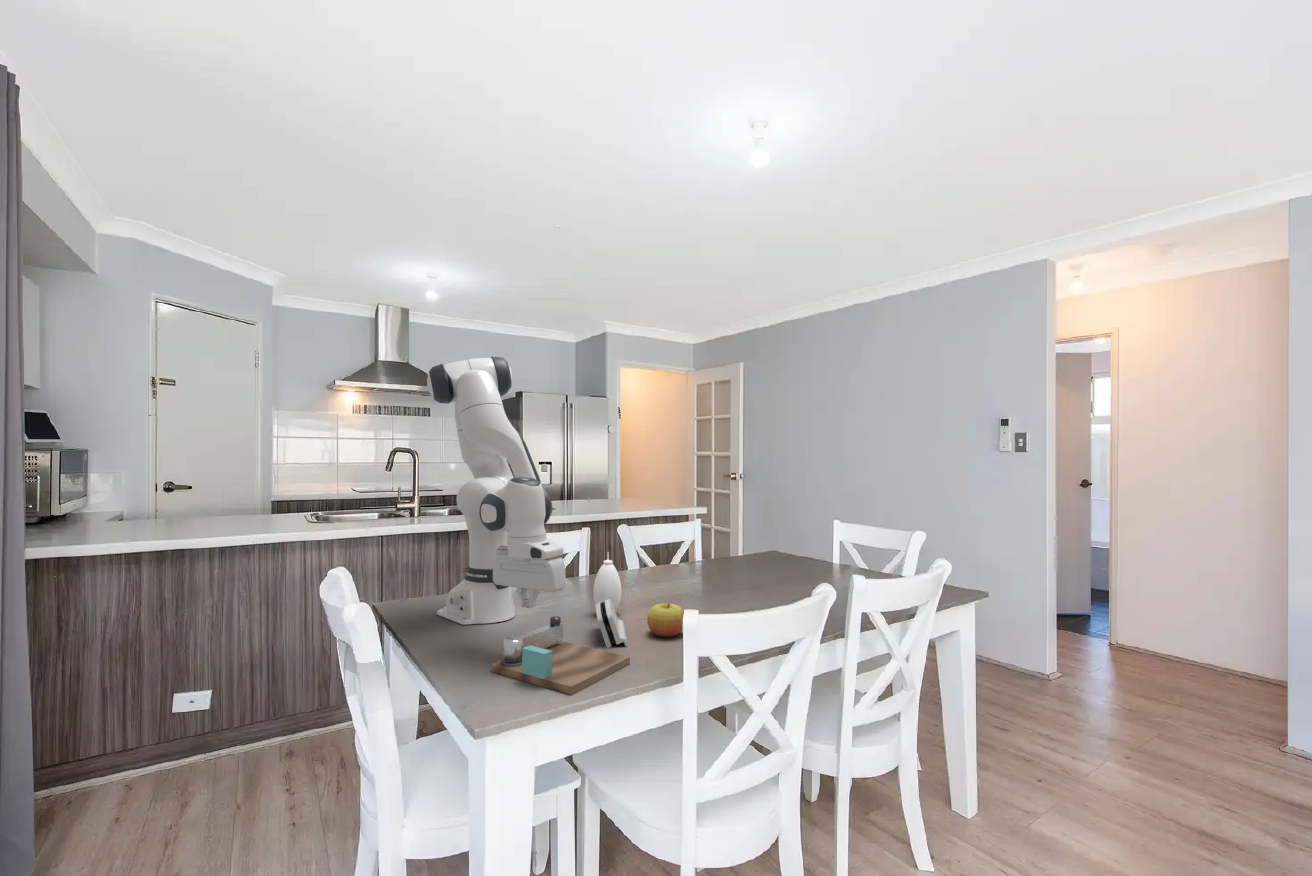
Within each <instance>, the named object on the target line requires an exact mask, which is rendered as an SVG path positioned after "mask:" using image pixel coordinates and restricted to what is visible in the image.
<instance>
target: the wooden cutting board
mask: <svg viewBox="0 0 1312 876" xmlns="http://www.w3.org/2000/svg"><path fill="white" fill-rule="evenodd" d="M544 649H547V650H551V651H552V676H550V677H548V678H546V679H542V678H538V677H535V676H531V675H527V674H524V673H522V660H520V661H517V662H506V661H504V660H503V658H502V659H500V660H497V661H495V662H492V663H490V672H491V673H496V674H498V673H499V674H498V675H503V676H505V677H507V678H508V677H509V678H512V679H516V680H519V681H523V682H526V683H530V684H533V685H536V686H540V687H543V688H547V689H551V690H553V689H555V690H554V691H557V690H558V692H561V693H565V694H567V695H571V696H572V695H574V694H576V693H578V692H579V691H581V690H583V689H585V688H587V687H589V686H591V685H592V684H594V683H595V684H596V683H597V682H598V681H601V680H602V679H605V677H607V676H609V675H611V674H613V673H615V672H617V671H619V670H621V669H623V668H624V667H626V666H628V665H630V664H631V663H630V662H631V656H628V655H624V654H619V653H615V652H610V651H606V650H602V649H597V648H593V647H589V646H584V645H581V644H576V643H572V642H567V641H561V642H559V643H556V644H554V645H551V646H549V647H546V648H544Z"/></svg>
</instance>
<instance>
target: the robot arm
mask: <svg viewBox="0 0 1312 876" xmlns="http://www.w3.org/2000/svg"><path fill="white" fill-rule="evenodd" d="M513 377H514V375H513V371H512V368H511V366H510V365H509V363H508V361H507V360H506V359H505V358H504V357H500V356H491V357H475V358H473V357H472V358H467V359H464V360H458V361H452V362H449V363H445V364H444V363H440V364H438V365H437V364H436V365H434V366H432V367H431V368H430V369H429V371H428V375H427V379H426V383H427V384H426V385H427V390H428V392H429V394H430V396H431V397H432V398H433V400H434V401H435V402H437V403H439V404H451V403H454V420H455V428H456V433H457V438H458V443H459V448H460V453H461V458H462V460H463V461H464V463H465V464H466V465H467V466H468V468H469V469H470V472H471V474H472V476H473V479H470V480H469V481H468V482H466V483H464V484H463V485H462V486H460V488H459V490H458V491H457V494H456V505H457V507H458V509H459V512H461V514H462V515H463V517H464V519H465V520H464V521H465V523H466V528H467V533H468V541H469V542H468V544H469V554H468V555H469V556H468V557H469V558H468V559H469V562H468V563H469V565H468V566H467V567H462V571H461V572H462V573H465V574H464V577H463V579H462V581H460V582H459V583H458V584H456V585H455V587H453V588H452V589H451V590H450V591H449V592H448V594H447V597H446V603H445V604H446V605H445V606H444V607H441V608H440V609H438V610H437V612H436V615H438V616H439V617H443V618H445V619H447V620H450V621H452V622H455V623H457V624H460V625H465V626H466V625H473V624H474V625H476V624H494V623H499V622H500V623H501V622H504V621H508V620H511V619H513V618H515V617H516V606H515V605H514V597H513V588H516V593H517V594H518V597H519V600H520V605H521V607H522V608H526V609H534V608H536V607H537V606H536V603H537V602H536V600H537V598H538V595H539V594H540V592H548V593H556V592H560V591H562V590H563V589H564V588H565V586H566V581H567V580H566V577H567V576H566V566H565V562H564V561H565V560H564V559H563V557H561V556H564V551H565V550H564V546H562V545H560V544H558V543H556V542H554V541H553V540H550V538H547V531H546V528H545V525H546V524H547V523H548V522H549V520H550V518H551V515H552V512H553V503H552V500H551V497H550V495H549V494H548V492H547V490H546V488H545V486H544V485H543V483H542V481H541V478H540V475H539V473H538V471H537V468H536V466H535V464H534V461H533V457H532V456H531V453H530V451H529V449H528V445H527V444H526V441H525V439H524V438H523V435H521V433H520V432H519V431H518V430H517V429H515V427H514V426H513V425H512V423H511V422H510V420H509V419H508V418H509V417H508V416H507V414H506V411H505V409H504V405H503V401H502V397H503V396H505V395H506V394H508V393H509V391H510V389H511V388H512V383H513ZM509 465H510V466H509ZM511 470H512V471H511ZM512 472H513V473H512ZM527 591H528V592H527ZM528 594H529V595H528Z"/></svg>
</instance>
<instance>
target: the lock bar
mask: <svg viewBox="0 0 1312 876" xmlns="http://www.w3.org/2000/svg"><path fill="white" fill-rule="evenodd" d="M561 618H562V617H561V616H556V615H555V616H550V618H549V624H547V625H546V626H542V627H540V628H537V629H534V630H532V631H529V632H526V633H523V634H520V635H512V636H507V637H505V638H504V639H503V655H502V656H503V658H502V659H503V660H504V661H506V662H517V661H520V660H522V648H524V647H527V646H535V647H539V648H543V649H544V648H546V647H549V646H551V645H554V644H556V643H559V642H561V641H563V639H564V638H563V637H564V636H563V635H564V633H563V632H564V631H563V630H564V624H563V623H562V622H561V621H562V619H561Z"/></svg>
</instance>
